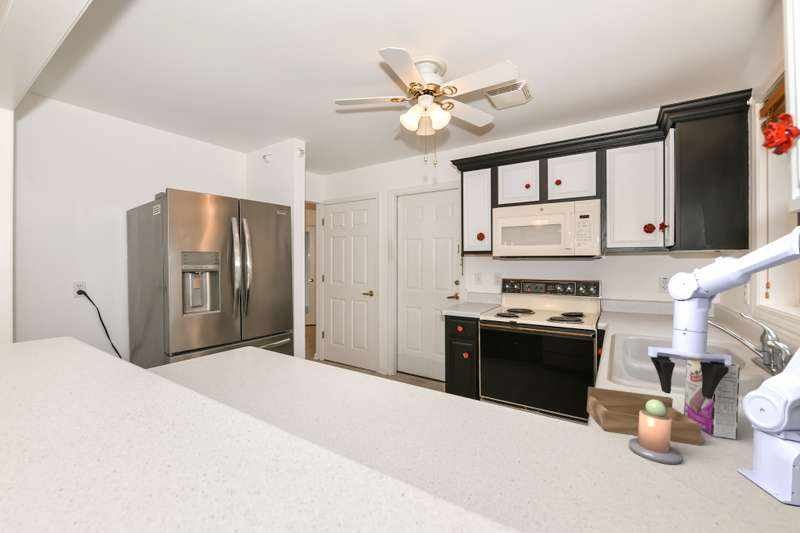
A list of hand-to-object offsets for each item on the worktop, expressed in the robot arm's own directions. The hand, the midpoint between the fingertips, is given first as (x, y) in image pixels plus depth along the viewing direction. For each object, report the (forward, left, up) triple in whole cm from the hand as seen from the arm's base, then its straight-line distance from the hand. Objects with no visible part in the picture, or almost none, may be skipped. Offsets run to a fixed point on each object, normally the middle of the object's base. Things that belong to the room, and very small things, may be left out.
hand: (686, 394), depth 75 cm
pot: (-10, +10, -8) cm, 16 cm away
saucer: (-10, +10, -9) cm, 17 cm away
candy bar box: (+10, -10, -10) cm, 17 cm away
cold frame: (+4, +7, -9) cm, 12 cm away
